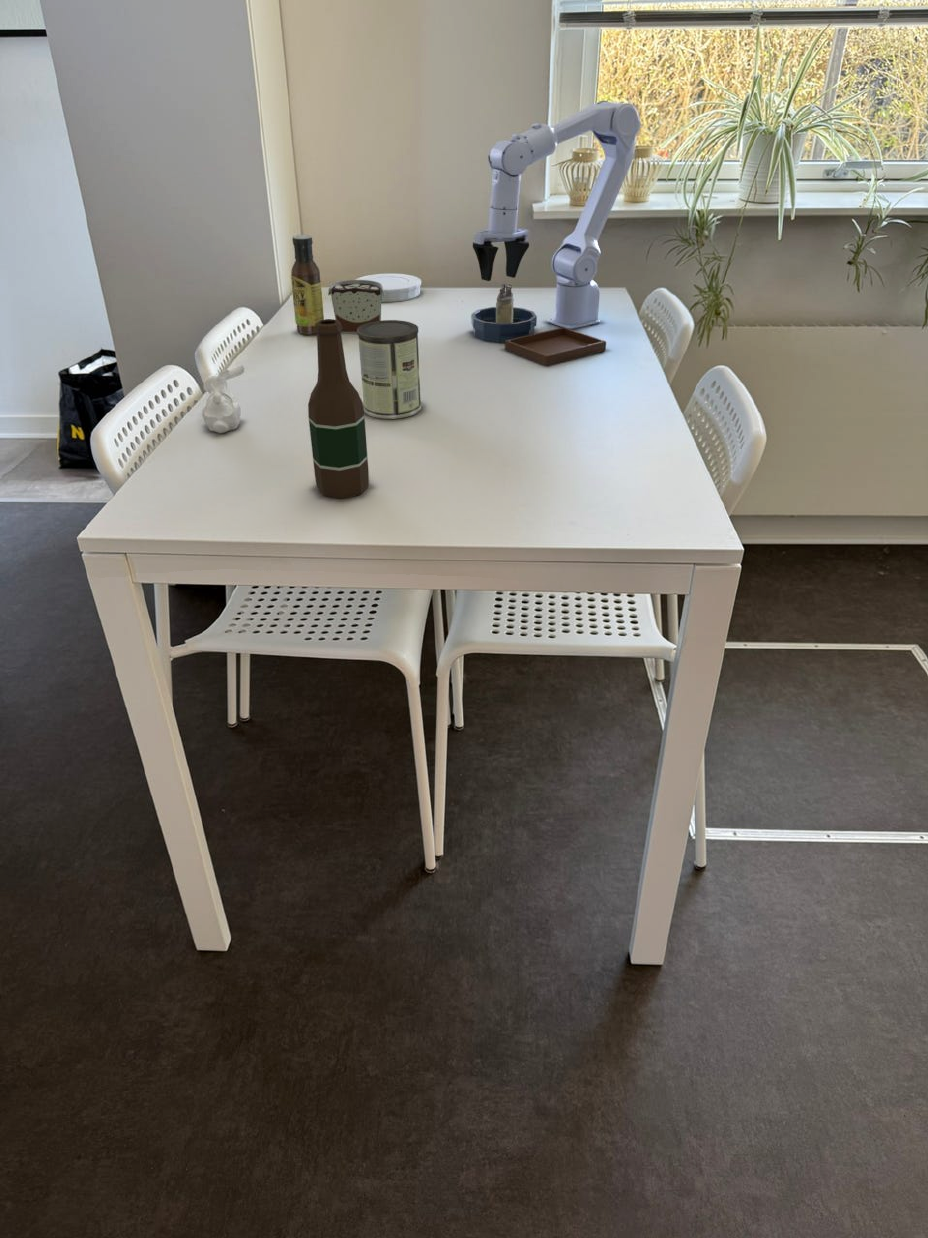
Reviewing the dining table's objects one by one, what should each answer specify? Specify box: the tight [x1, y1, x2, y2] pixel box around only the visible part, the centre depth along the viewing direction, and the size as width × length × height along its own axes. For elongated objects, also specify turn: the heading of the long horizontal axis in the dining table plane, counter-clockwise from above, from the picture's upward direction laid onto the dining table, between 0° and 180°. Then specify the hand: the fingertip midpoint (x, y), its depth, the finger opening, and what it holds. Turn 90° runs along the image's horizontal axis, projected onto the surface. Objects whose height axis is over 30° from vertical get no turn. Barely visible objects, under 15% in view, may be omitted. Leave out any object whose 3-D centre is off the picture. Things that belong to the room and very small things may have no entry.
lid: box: [355, 273, 422, 303], centre depth 223 cm, size 17×20×3 cm
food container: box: [327, 279, 385, 334], centre depth 195 cm, size 12×6×10 cm, turn 84°
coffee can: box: [356, 319, 422, 420], centre depth 153 cm, size 10×10×14 cm
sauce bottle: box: [290, 234, 325, 336], centre depth 191 cm, size 6×6×20 cm
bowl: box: [470, 306, 538, 344], centre depth 193 cm, size 14×14×4 cm
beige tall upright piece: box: [495, 283, 515, 323], centre depth 192 cm, size 7×4×10 cm, turn 172°
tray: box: [504, 327, 607, 367], centre depth 184 cm, size 16×13×2 cm
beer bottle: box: [307, 318, 370, 499], centre depth 124 cm, size 8×8×24 cm
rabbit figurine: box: [201, 363, 245, 434], centre depth 149 cm, size 12×8×10 cm, turn 9°
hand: (498, 278), depth 187 cm, fingers open, 7 cm apart
